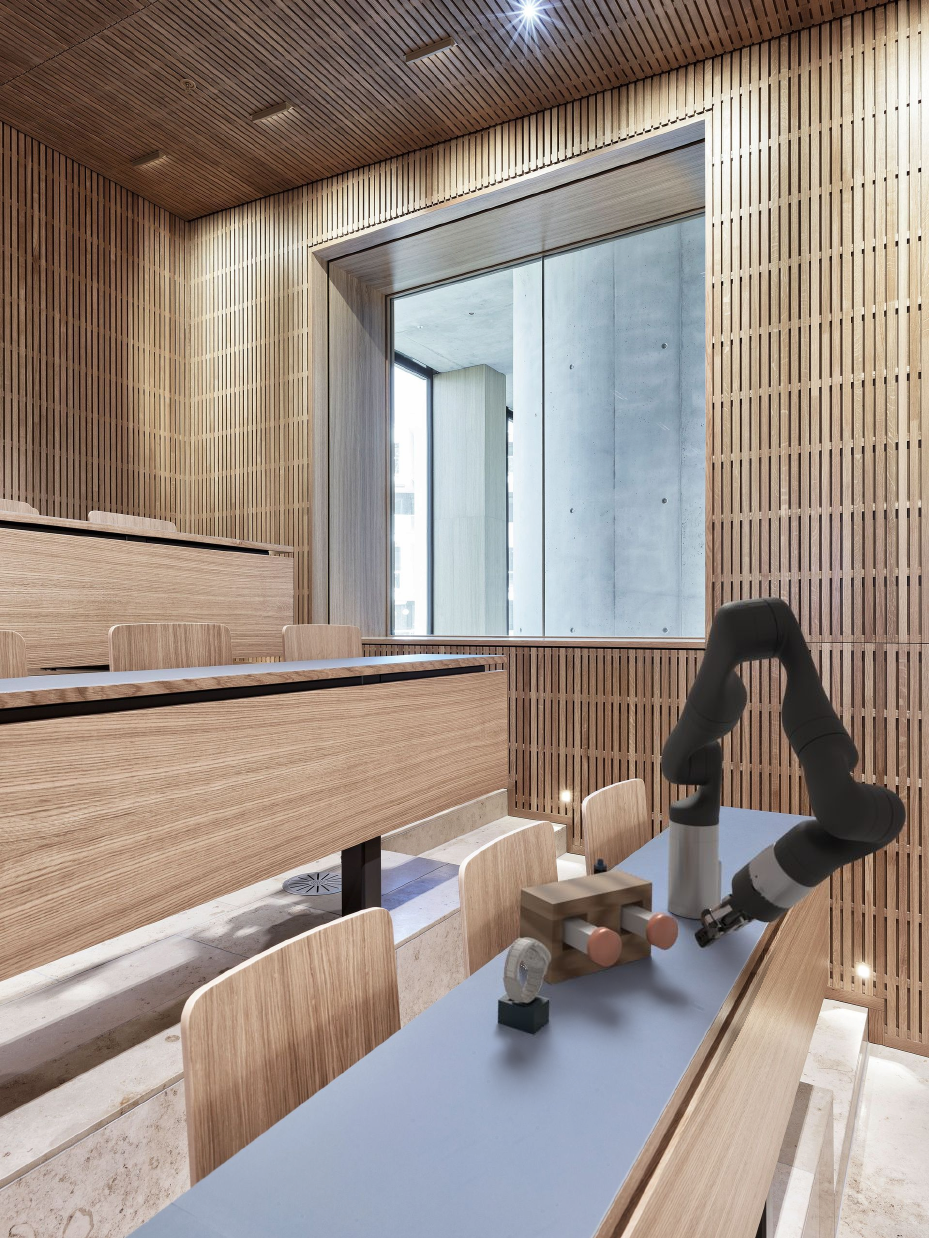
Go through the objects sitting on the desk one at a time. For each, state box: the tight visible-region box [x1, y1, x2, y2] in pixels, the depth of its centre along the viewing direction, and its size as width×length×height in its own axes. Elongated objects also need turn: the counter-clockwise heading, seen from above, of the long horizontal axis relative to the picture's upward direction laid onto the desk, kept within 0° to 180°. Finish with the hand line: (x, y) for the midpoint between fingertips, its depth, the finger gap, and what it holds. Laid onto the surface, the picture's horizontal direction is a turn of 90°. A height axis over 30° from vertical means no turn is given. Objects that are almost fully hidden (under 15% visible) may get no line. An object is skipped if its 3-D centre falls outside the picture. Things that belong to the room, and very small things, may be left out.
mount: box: [519, 869, 653, 985], centre depth 128 cm, size 21×8×12 cm, turn 123°
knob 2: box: [620, 903, 679, 951], centre depth 126 cm, size 5×10×5 cm, turn 33°
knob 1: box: [562, 916, 622, 967], centre depth 120 cm, size 5×10×5 cm, turn 33°
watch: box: [497, 937, 551, 1036], centre depth 108 cm, size 6×8×11 cm
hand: (700, 940), depth 117 cm, fingers closed
